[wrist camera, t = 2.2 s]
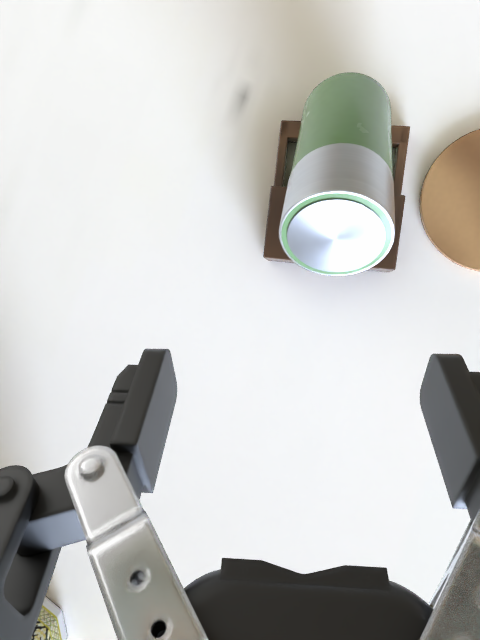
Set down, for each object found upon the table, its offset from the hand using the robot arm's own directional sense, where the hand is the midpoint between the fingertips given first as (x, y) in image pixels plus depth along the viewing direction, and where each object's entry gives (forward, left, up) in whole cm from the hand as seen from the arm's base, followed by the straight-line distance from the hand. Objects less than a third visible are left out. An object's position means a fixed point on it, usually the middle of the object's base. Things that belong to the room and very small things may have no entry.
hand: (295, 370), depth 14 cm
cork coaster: (+16, -3, -20) cm, 25 cm away
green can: (+8, +6, -14) cm, 17 cm away
